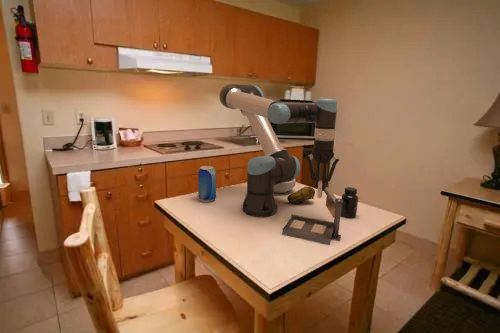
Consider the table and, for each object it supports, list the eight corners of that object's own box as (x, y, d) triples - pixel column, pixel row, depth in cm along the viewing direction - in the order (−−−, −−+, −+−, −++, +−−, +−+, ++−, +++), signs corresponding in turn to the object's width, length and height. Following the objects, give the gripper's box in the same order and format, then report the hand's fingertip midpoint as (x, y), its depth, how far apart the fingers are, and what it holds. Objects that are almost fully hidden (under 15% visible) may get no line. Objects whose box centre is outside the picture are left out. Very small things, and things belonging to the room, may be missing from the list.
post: (329, 238, 101) (333, 200, 98) (330, 234, 104) (334, 197, 101) (339, 241, 100) (344, 202, 96) (340, 236, 103) (345, 199, 100)
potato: (287, 198, 140) (288, 183, 139) (313, 200, 139) (314, 185, 137) (286, 204, 132) (287, 188, 131) (315, 207, 131) (316, 190, 129)
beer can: (219, 199, 137) (219, 167, 133) (208, 204, 130) (208, 170, 126) (206, 195, 142) (206, 164, 138) (194, 200, 135) (194, 167, 131)
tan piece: (322, 202, 119) (324, 186, 117) (327, 202, 119) (328, 186, 117) (333, 220, 102) (335, 201, 100) (338, 220, 102) (340, 202, 100)
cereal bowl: (280, 184, 164) (281, 172, 162) (301, 192, 151) (302, 179, 149) (257, 189, 154) (257, 176, 152) (277, 198, 141) (278, 184, 139)
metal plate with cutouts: (282, 234, 104) (282, 226, 103) (291, 221, 115) (291, 214, 114) (329, 244, 97) (330, 236, 96) (334, 230, 108) (335, 222, 107)
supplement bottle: (357, 219, 119) (360, 192, 116) (340, 217, 120) (343, 190, 117) (354, 212, 125) (358, 187, 122) (338, 211, 127) (341, 185, 124)
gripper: (305, 139, 110) (301, 197, 115) (340, 141, 104) (334, 202, 110) (309, 137, 116) (306, 192, 122) (342, 139, 111) (337, 196, 116)
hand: (319, 196), depth 116 cm, fingers closed
